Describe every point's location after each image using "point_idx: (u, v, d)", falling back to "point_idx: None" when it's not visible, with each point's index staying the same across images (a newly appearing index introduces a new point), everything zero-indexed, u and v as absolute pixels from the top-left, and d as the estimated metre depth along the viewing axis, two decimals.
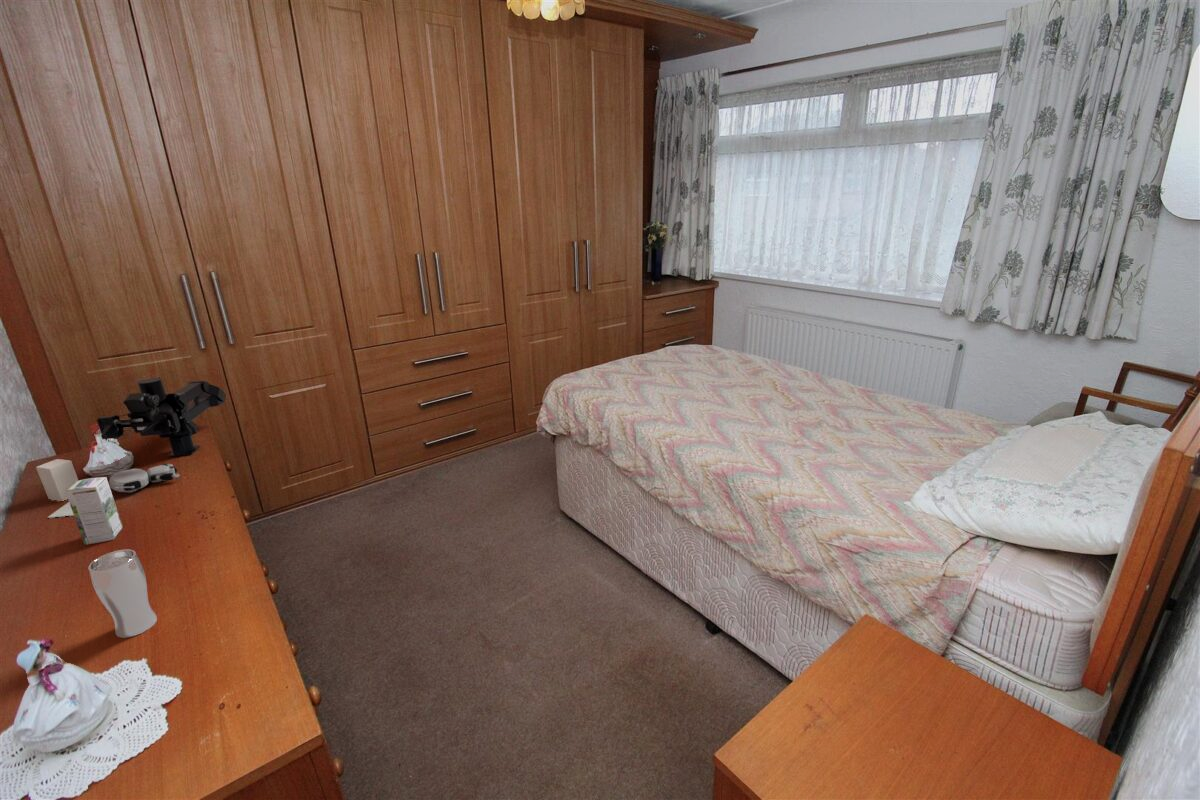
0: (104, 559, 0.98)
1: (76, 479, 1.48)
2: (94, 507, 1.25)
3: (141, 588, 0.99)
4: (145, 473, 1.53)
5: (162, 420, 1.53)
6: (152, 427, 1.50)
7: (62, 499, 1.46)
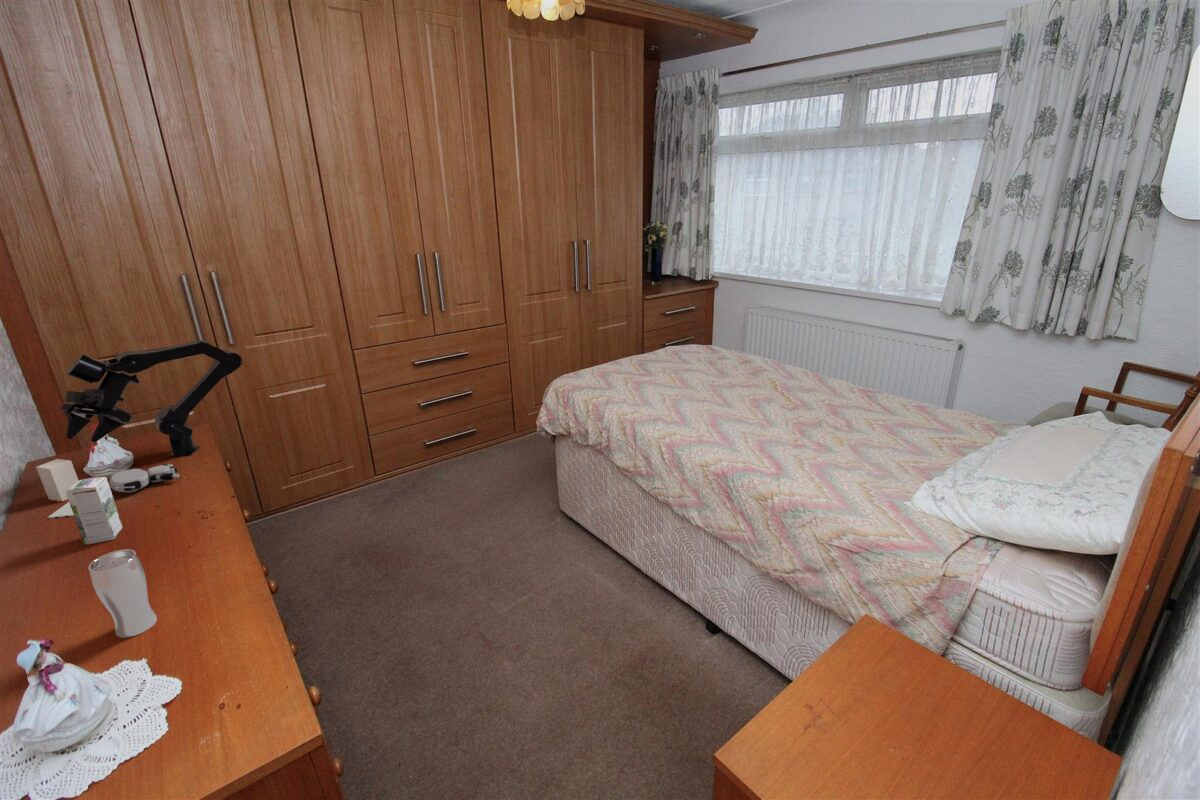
0: (104, 559, 0.98)
1: (76, 479, 1.48)
2: (94, 507, 1.25)
3: (141, 588, 0.99)
4: (145, 473, 1.53)
5: (107, 419, 1.51)
6: (100, 430, 1.50)
7: (62, 499, 1.46)
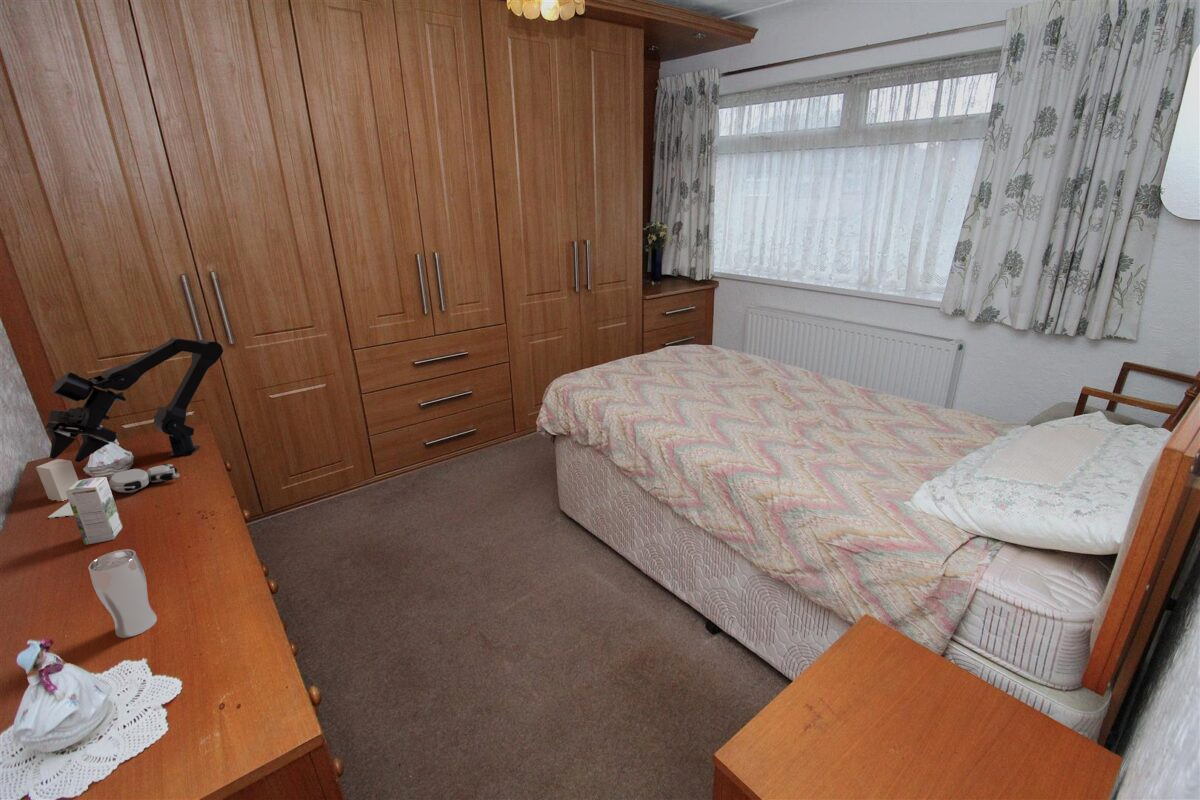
0: (104, 559, 0.98)
1: (76, 479, 1.48)
2: (94, 507, 1.25)
3: (141, 588, 0.99)
4: (145, 473, 1.53)
5: (91, 438, 1.47)
6: (84, 450, 1.47)
7: (62, 499, 1.46)
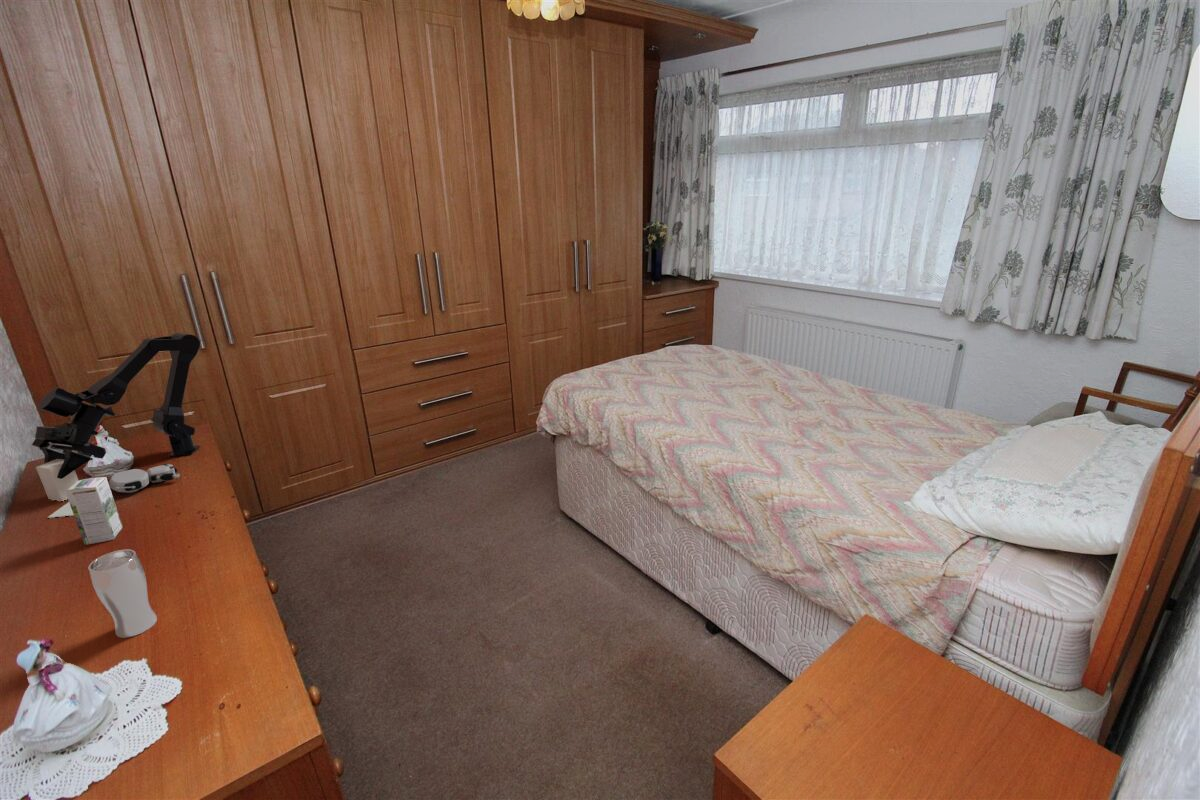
0: (104, 559, 0.98)
1: (76, 479, 1.48)
2: (94, 507, 1.25)
3: (141, 588, 0.99)
4: (145, 473, 1.53)
5: (74, 454, 1.45)
6: (67, 466, 1.45)
7: (62, 499, 1.46)
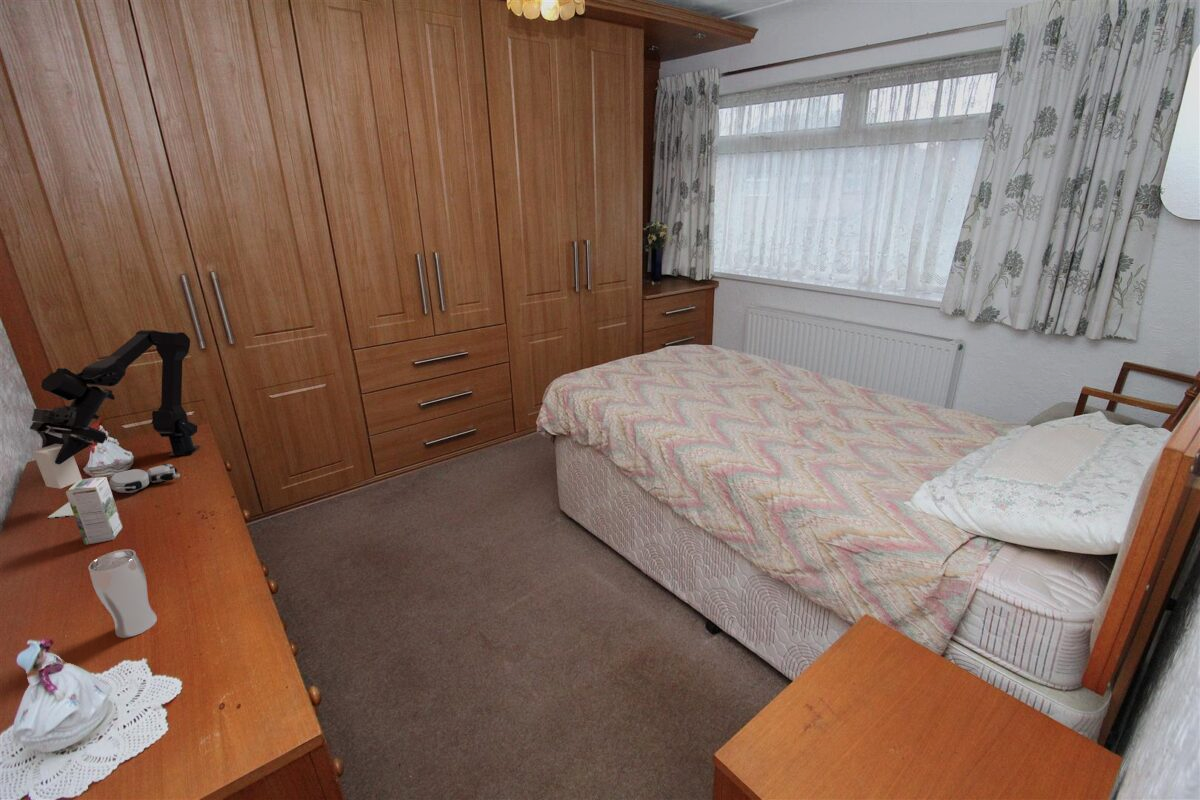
0: (104, 559, 0.98)
1: (75, 465, 1.41)
2: (94, 507, 1.25)
3: (141, 588, 0.99)
4: (145, 473, 1.53)
5: (72, 439, 1.37)
6: (65, 451, 1.37)
7: (60, 486, 1.38)
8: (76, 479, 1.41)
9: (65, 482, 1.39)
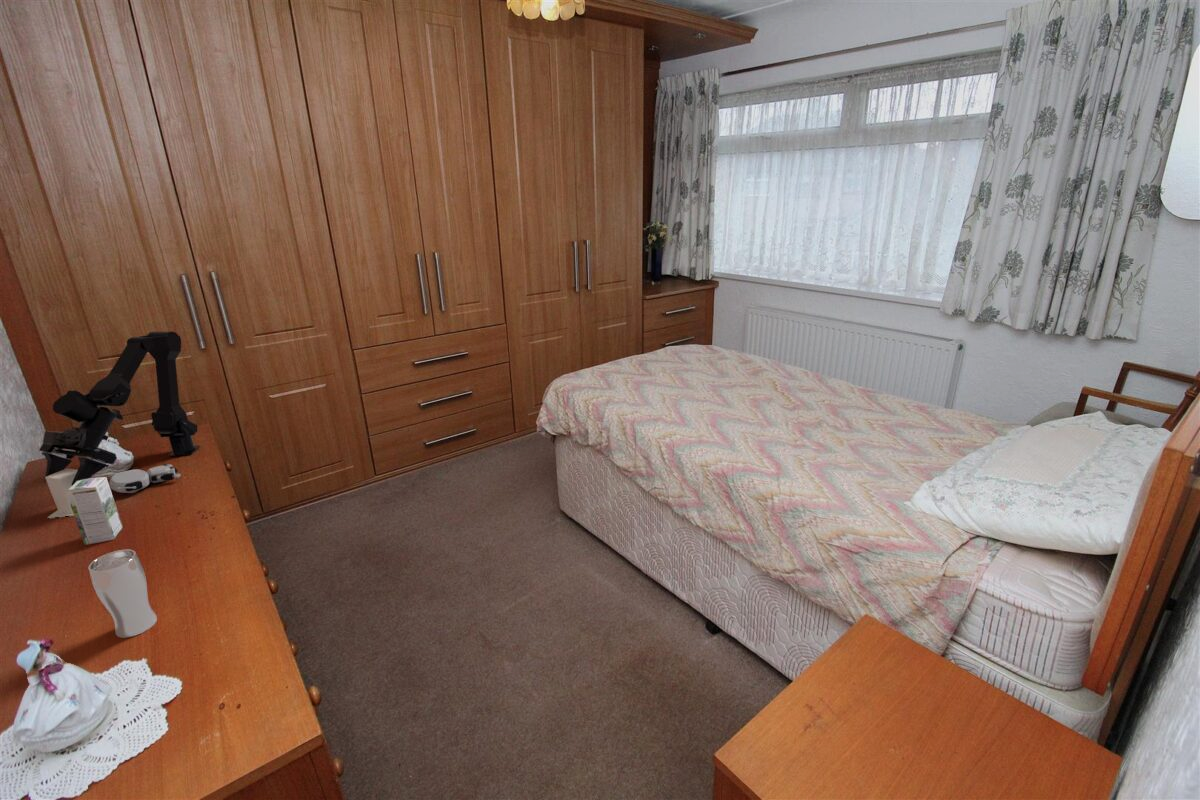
0: (104, 559, 0.98)
1: None
2: (94, 507, 1.25)
3: (141, 588, 0.99)
4: (146, 473, 1.53)
5: (89, 461, 1.38)
6: (82, 473, 1.38)
7: None
8: None
9: None
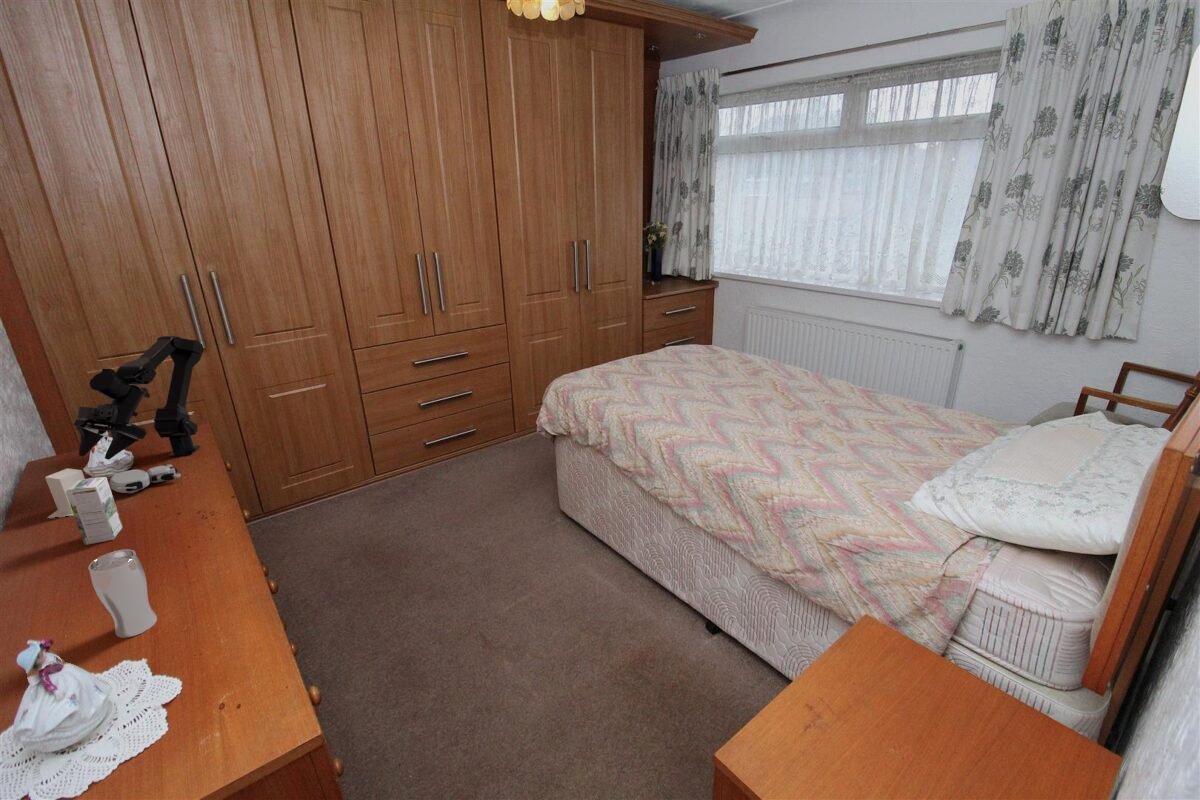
0: (104, 559, 0.98)
1: None
2: (94, 507, 1.25)
3: (141, 588, 0.99)
4: (146, 474, 1.53)
5: (121, 435, 1.45)
6: (114, 447, 1.45)
7: None
8: None
9: None
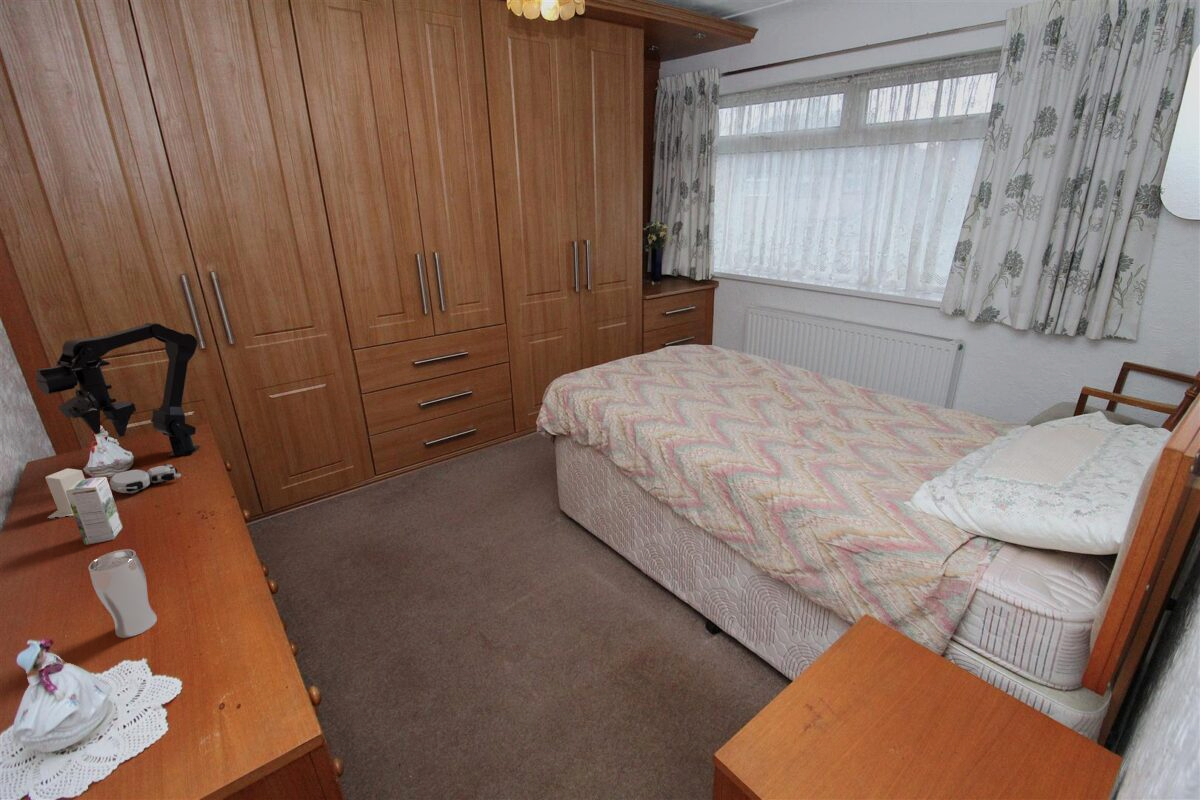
0: (104, 559, 0.98)
1: None
2: (94, 507, 1.25)
3: (141, 588, 0.99)
4: (146, 474, 1.53)
5: None
6: (119, 426, 1.53)
7: None
8: None
9: None
